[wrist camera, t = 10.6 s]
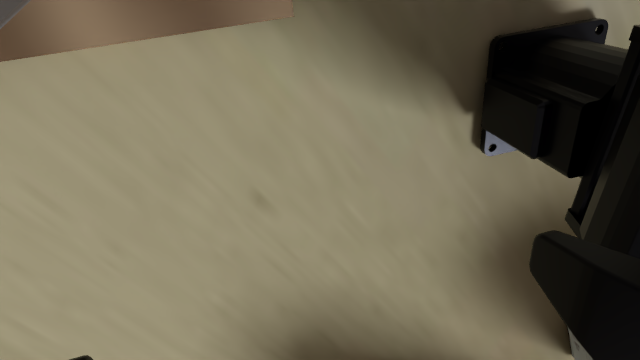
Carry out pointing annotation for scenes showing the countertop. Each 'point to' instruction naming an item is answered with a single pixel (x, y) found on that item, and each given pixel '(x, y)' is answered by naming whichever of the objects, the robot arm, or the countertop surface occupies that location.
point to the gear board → (118, 21)
